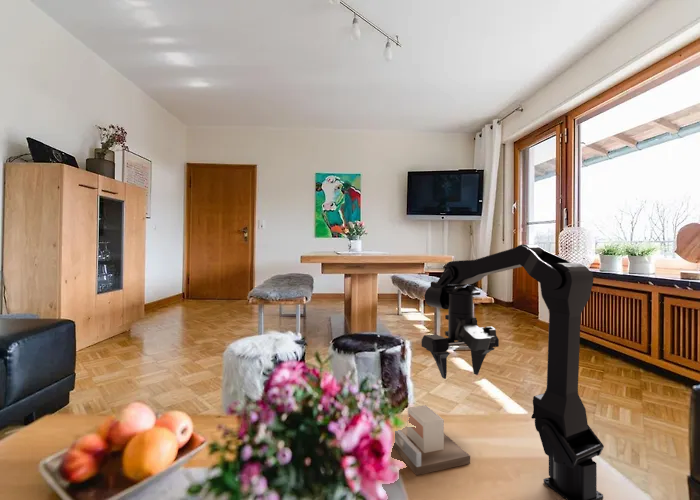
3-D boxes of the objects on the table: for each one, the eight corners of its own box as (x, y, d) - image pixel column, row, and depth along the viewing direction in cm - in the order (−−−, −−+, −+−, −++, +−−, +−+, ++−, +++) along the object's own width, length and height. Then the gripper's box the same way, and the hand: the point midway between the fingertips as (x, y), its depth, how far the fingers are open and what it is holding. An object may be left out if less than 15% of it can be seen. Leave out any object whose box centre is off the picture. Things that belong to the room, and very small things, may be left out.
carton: (425, 432, 76) (425, 405, 76) (443, 449, 69) (444, 419, 69) (407, 435, 74) (407, 407, 74) (424, 453, 67) (424, 422, 68)
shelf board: (470, 463, 67) (470, 442, 67) (414, 475, 63) (415, 453, 63) (431, 428, 80) (431, 411, 80) (383, 437, 76) (383, 419, 76)
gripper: (447, 320, 72) (447, 393, 72) (516, 316, 78) (516, 384, 78) (420, 311, 83) (420, 376, 83) (483, 308, 89) (482, 368, 89)
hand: (460, 376), depth 83 cm, fingers open, 9 cm apart
